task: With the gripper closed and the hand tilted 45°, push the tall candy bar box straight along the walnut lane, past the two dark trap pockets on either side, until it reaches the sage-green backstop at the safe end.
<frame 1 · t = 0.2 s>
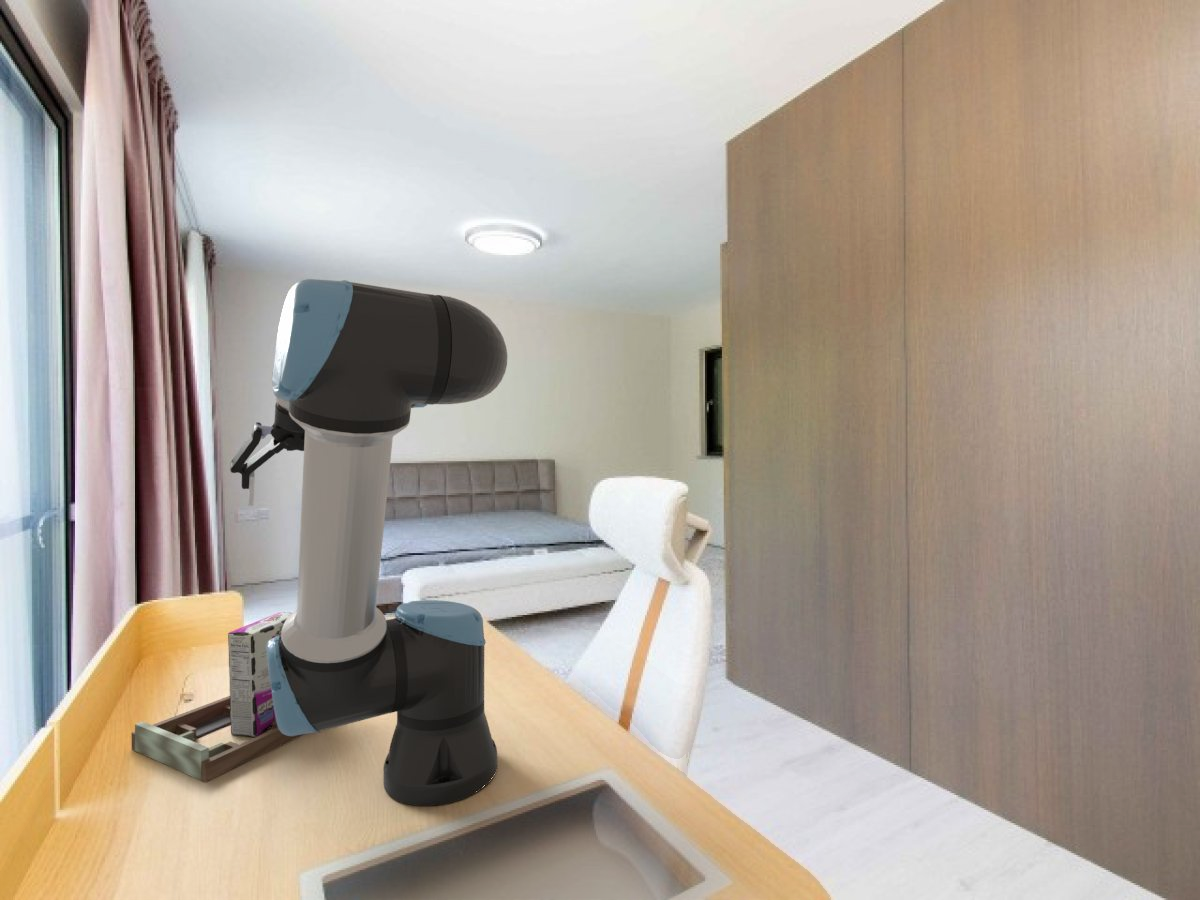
hand: (291, 500, 112), 35 cm above the table, tool tilted 35°, fingers open, 13 cm apart
candy bar box: (268, 721, 96), resting in trap lane
trap lane: (240, 732, 92), on the table
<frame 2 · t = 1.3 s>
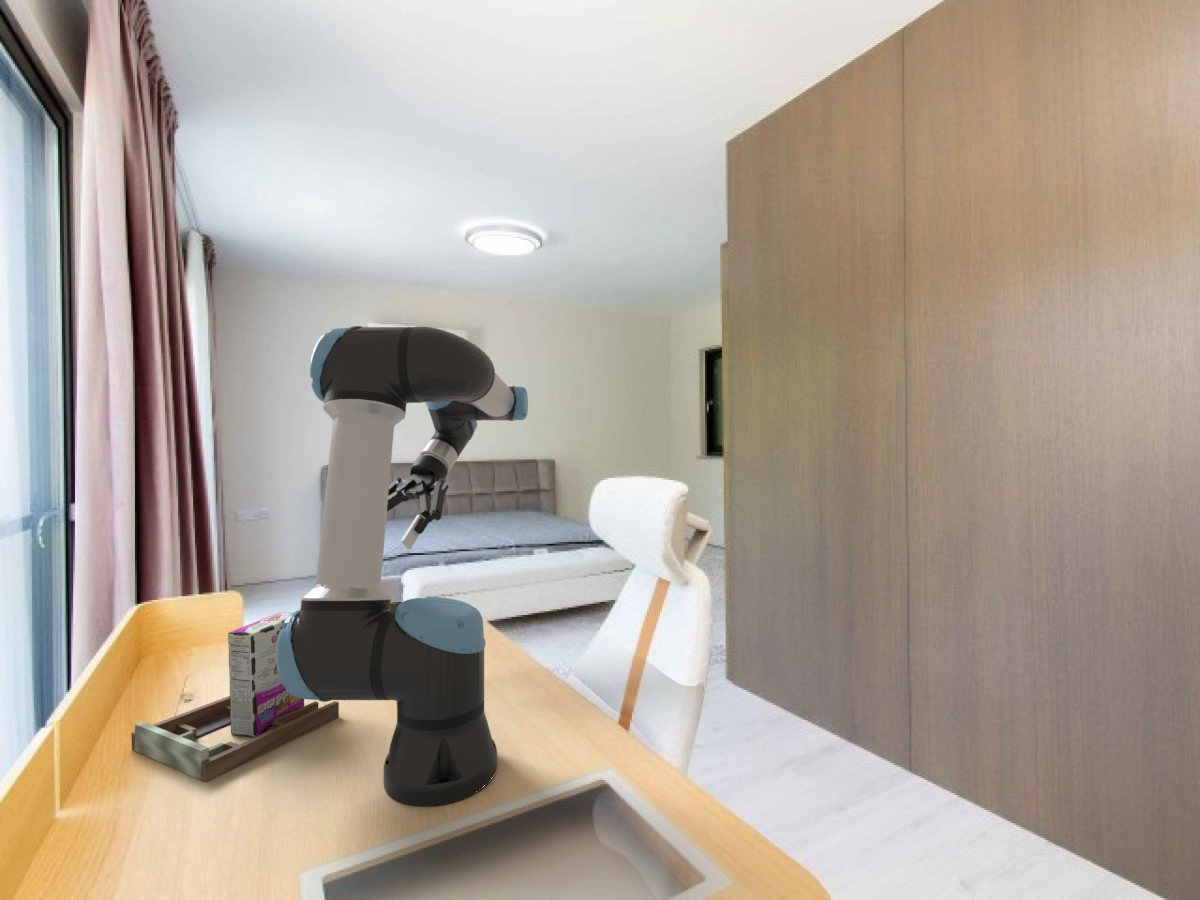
hand: (381, 542, 117), 26 cm above the table, tool tilted 45°, fingers open, 12 cm apart
nothing on the table moved.
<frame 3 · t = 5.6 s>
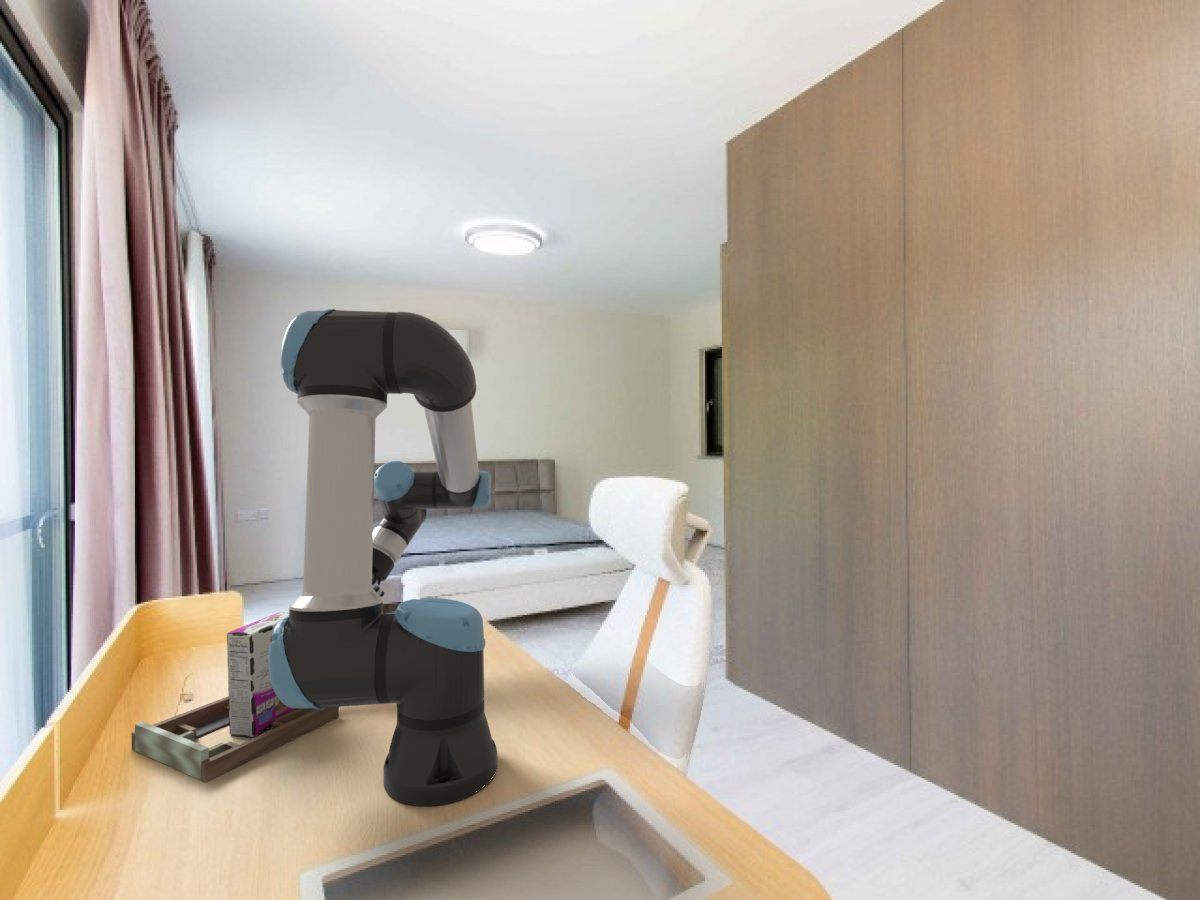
hand: (303, 666, 102), 7 cm above the table, tool tilted 45°, fingers closed
candy bar box: (267, 722, 96), resting in trap lane, touching gripper
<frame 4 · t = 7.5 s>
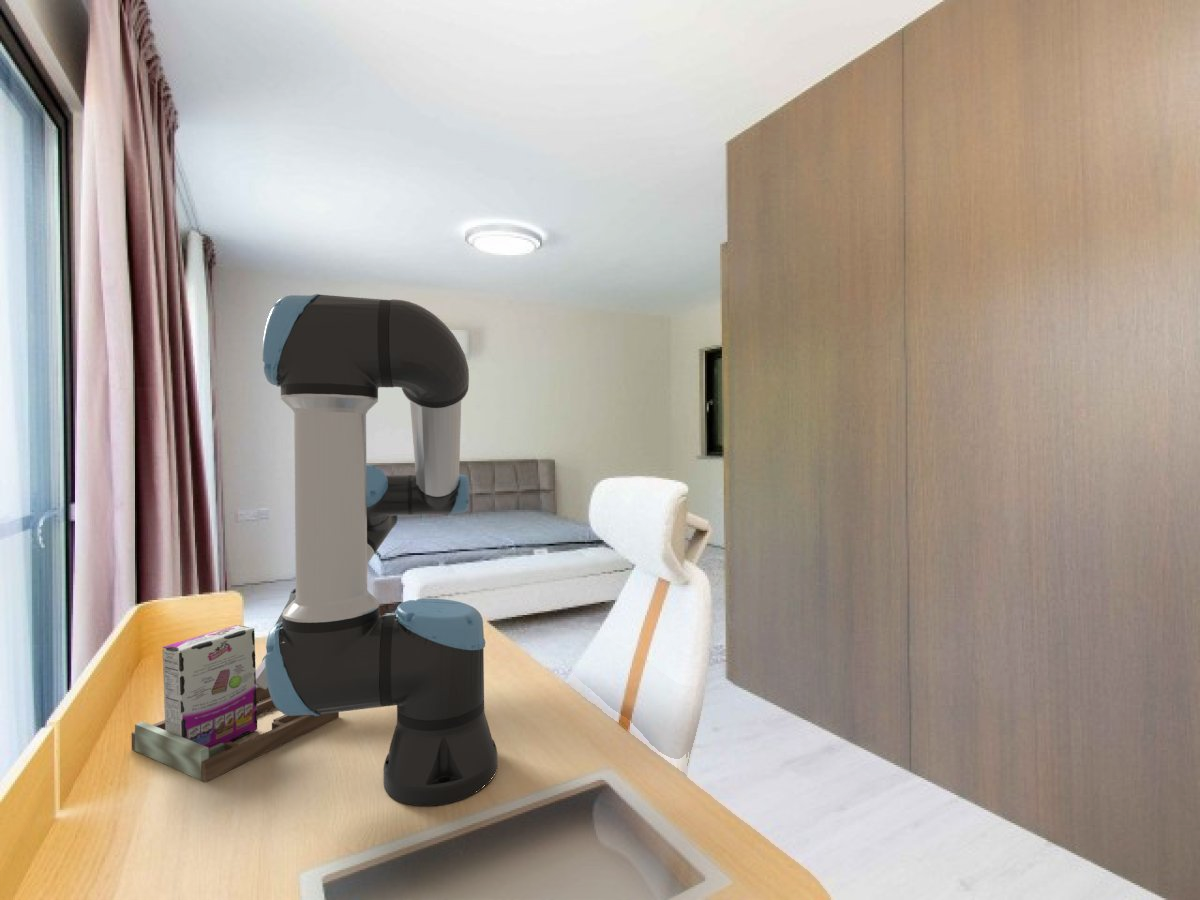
hand: (257, 684, 94), 7 cm above the table, tool tilted 45°, fingers closed
candy bar box: (212, 744, 88), resting in trap lane, touching gripper
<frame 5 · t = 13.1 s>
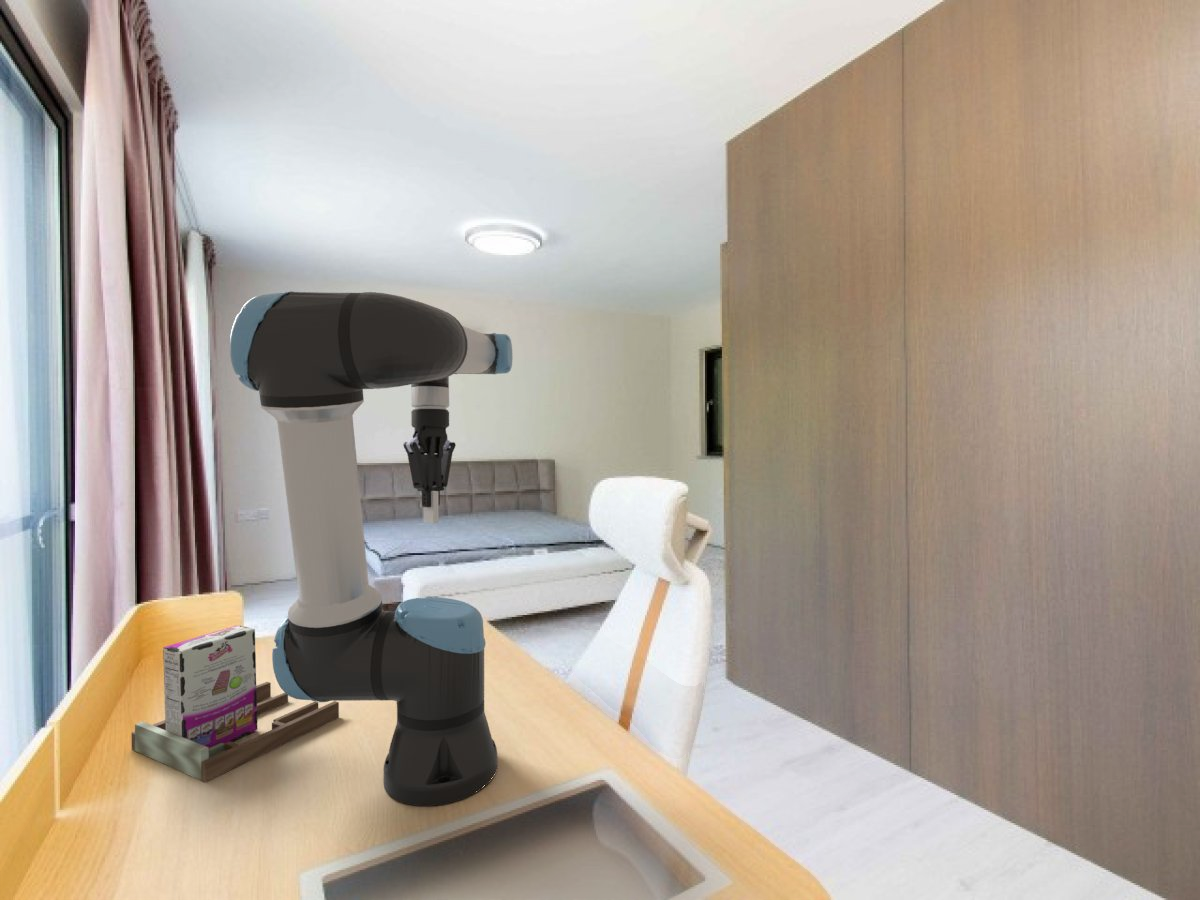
hand: (431, 522, 120), 29 cm above the table, tool pointing down, fingers closed
candy bar box: (212, 745, 88), resting in trap lane
at the end: candy bar box 0.6 cm from the target spot, resting in trap lane; candy bar box tilted 0°; the gripper is holding nothing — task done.
